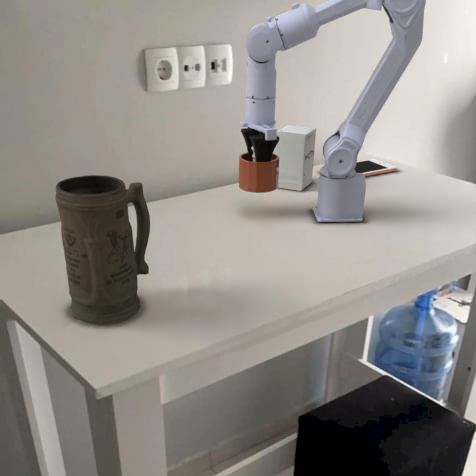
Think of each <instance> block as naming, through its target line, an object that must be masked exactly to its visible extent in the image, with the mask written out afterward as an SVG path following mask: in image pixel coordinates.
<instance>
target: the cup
mask: <svg viewBox="0 0 476 476" xmlns="http://www.w3.org/2000/svg"><path fill="white" fill-rule="evenodd" d="M278 178H279V156H278V155H276V154H275V152H273V154H272V158H271V161H268V162H252V161H249V157H248V151H246V152H243V153H240V155H238V188H239V189H241V190H242V191H244V192H247V193H254V194H255V193H256V194H263V193H270V192H274V191H276V190H277V189H278V188H279V187H278Z"/></svg>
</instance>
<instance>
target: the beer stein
mask: <svg viewBox="0 0 476 476" xmlns="http://www.w3.org/2000/svg"><path fill="white" fill-rule="evenodd" d="M55 203H56V206H57V210H58V215H59V218H60V232H61V233H60V234H61V243H62V247H63V254H64V261H65V267H66V268H65V269H66V275H67V284H68V294H69V296H70V298H71V302H70V310H71V313H72V315H73V316H74V318H76V319H77V320H79V321H81V322H84V323H89V324H95V325H109V324H115V323H120V322H123V321H125V320H128V319H130V318H131V317H133V316H135V315H136V314H137V313H138V312H139V310H140V308H141V300H140V298H139V295H138V290H139V287H138V282H139V281H138V276H139V275H148V274H149V273H150V267H149V264H148V263H147V262H146V260H145V257H146V251H147V246H148V243H149V239H150V234H151V216H150V210H149V207H148V203H147V201H146V199H145V195H144V185H143V183H142V182H139V181H138V182H131V183H129V186H128V188H126V184H125V182H124V181H123V180H122V179H120V178H118V177H114V176H110V175H99V174H91V175H90V174H89V175H82V176H81V175H80V176H73V177H68V178H65V179H63V180H60V181H58V182H57V183H56V185H55ZM129 204H132V205H133V207H134V211H135V216H136V237H135V241H134V233H133V227H132V224H131V222H130V217H129ZM134 242H135V243H134Z"/></svg>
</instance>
